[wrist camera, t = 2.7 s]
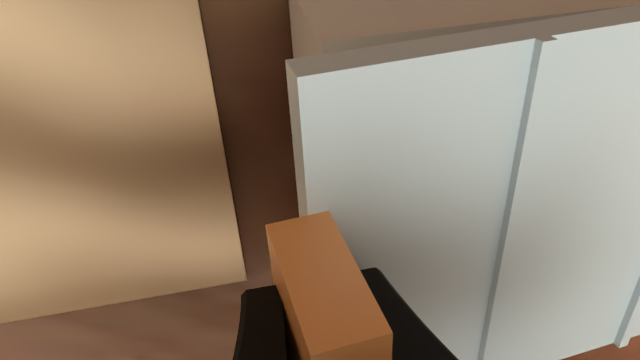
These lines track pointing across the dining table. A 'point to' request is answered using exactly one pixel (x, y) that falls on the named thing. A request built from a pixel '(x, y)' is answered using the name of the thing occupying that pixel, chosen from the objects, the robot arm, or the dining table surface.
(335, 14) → the tub
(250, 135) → the dining table surface
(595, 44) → the lid
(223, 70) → the dining table surface
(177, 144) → the cork mat
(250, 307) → the robot arm
